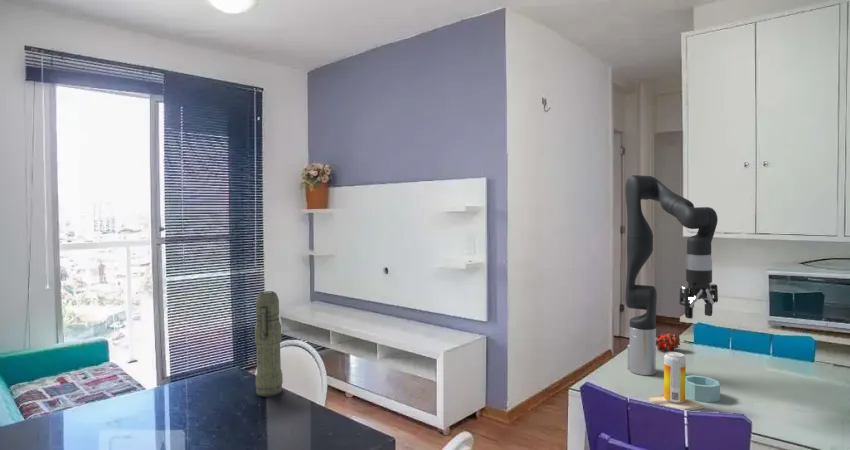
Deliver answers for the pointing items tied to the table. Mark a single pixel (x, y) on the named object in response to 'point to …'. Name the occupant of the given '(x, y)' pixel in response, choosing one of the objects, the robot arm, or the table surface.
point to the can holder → (702, 388)
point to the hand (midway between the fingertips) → (698, 316)
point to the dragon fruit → (667, 342)
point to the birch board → (685, 405)
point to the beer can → (674, 377)
